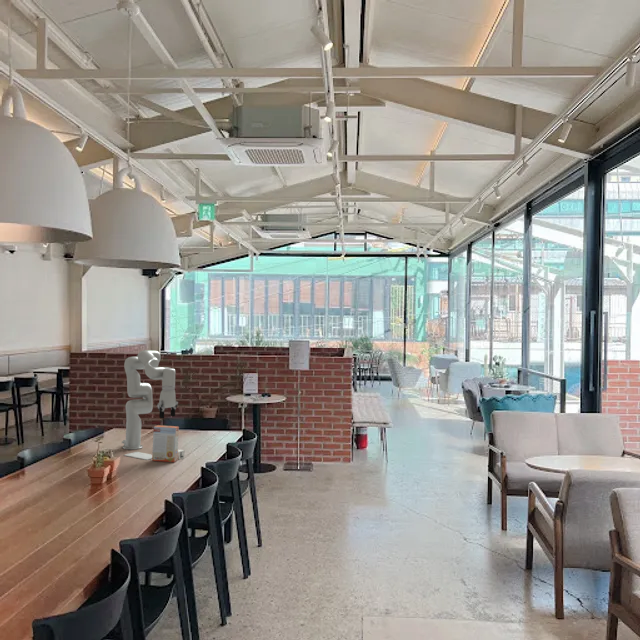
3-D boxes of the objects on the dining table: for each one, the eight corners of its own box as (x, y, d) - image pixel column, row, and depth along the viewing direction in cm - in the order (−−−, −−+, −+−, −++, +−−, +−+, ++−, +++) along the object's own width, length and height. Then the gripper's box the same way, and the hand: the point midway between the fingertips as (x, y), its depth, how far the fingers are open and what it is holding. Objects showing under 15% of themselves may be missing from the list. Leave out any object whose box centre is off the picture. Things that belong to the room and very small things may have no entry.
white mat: (123, 455, 367) (123, 454, 367) (136, 452, 377) (136, 451, 377) (147, 460, 359) (147, 459, 359) (159, 457, 368) (159, 456, 368)
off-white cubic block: (172, 458, 366) (172, 450, 366) (177, 457, 371) (178, 449, 371) (178, 459, 364) (179, 451, 364) (184, 458, 368) (184, 450, 368)
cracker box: (177, 460, 362) (179, 426, 362) (174, 462, 356) (176, 427, 356) (155, 458, 363) (157, 424, 363) (151, 461, 357) (153, 426, 357)
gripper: (173, 387, 369) (172, 415, 369) (153, 389, 354) (152, 418, 353) (182, 388, 366) (181, 416, 365) (163, 390, 350) (162, 419, 350)
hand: (167, 417), depth 359 cm, fingers open, 9 cm apart
